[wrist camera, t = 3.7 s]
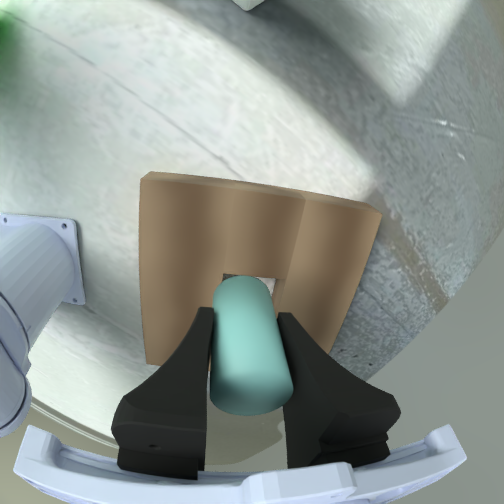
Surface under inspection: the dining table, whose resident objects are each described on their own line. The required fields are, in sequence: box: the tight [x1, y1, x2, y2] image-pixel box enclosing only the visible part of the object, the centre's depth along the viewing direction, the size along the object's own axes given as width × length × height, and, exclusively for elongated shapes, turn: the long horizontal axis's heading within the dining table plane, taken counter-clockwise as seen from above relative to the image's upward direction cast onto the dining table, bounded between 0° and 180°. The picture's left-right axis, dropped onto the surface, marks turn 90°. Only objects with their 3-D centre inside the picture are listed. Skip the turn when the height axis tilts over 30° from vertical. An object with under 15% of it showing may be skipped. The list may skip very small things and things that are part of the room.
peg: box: [210, 275, 293, 416], centre depth 12 cm, size 3×3×6 cm
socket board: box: [139, 172, 382, 371], centre depth 22 cm, size 16×16×2 cm
